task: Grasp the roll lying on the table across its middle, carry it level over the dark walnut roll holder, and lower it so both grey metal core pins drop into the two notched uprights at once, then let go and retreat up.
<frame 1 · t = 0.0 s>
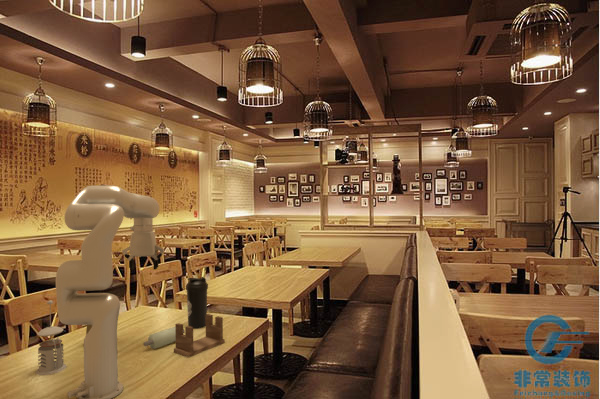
hand: (143, 269, 175), 31 cm above the table, tool pointing down, fingers open, 9 cm apart
roll: (164, 337, 173), point 3 cm above the table
french press: (52, 370, 148), on the table
holder: (199, 347, 169), on the table
water bottle: (197, 326, 197), on the table
squeeze bottle: (96, 343, 174), on the table
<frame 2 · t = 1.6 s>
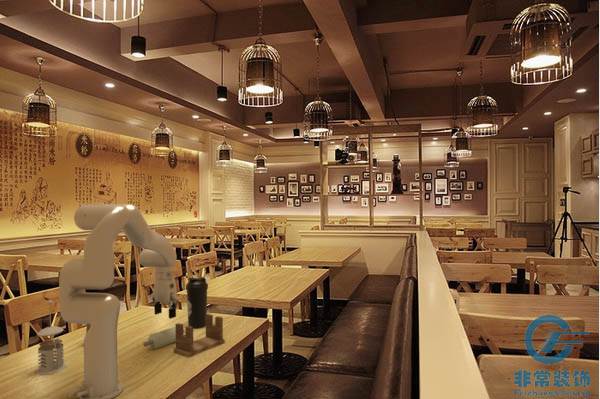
hand: (165, 315, 173), 12 cm above the table, tool pointing down, fingers open, 9 cm apart
nothing on the table moved.
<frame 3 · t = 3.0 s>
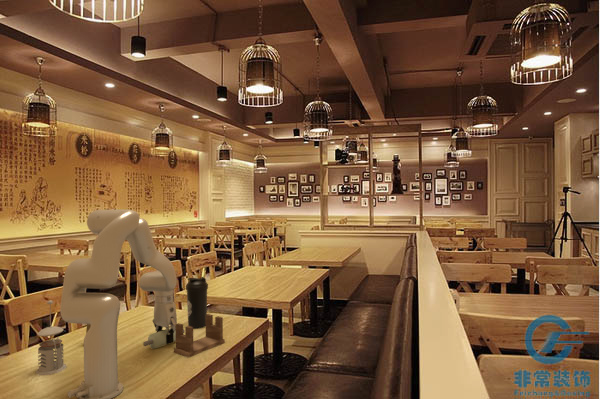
hand: (164, 341, 173), 1 cm above the table, tool pointing down, fingers closed on roll, 6 cm apart
roll: (164, 337, 173), point 3 cm above the table, touching gripper
everything else where it was.
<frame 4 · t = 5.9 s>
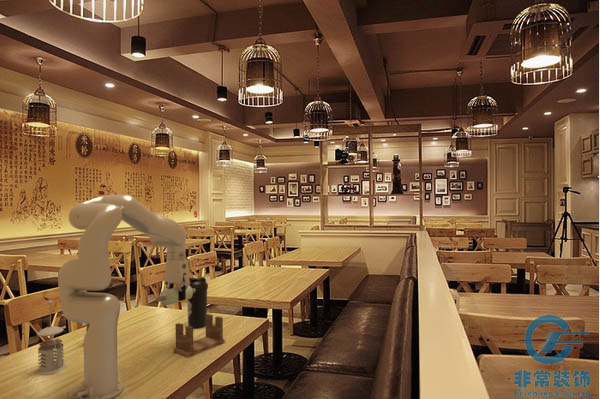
hand: (176, 298, 171), 19 cm above the table, tool pointing down, fingers closed on roll, 6 cm apart
roll: (176, 294, 171), point 21 cm above the table, touching gripper
everything else where it was.
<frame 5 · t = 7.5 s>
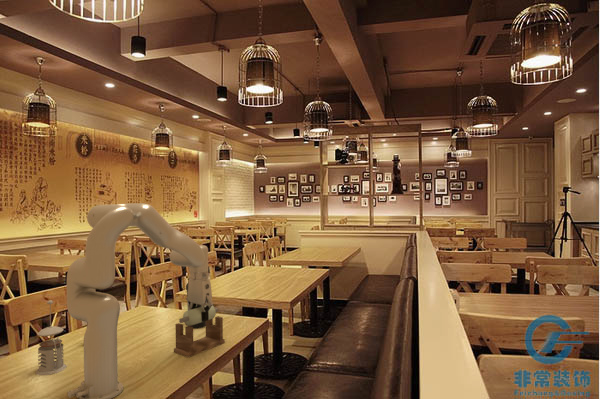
hand: (199, 319, 169), 12 cm above the table, tool pointing down, fingers closed on roll, 6 cm apart
roll: (199, 314, 169), point 13 cm above the table, touching gripper
everything else where it was.
when the fingers open (7 cm above the table, at t = 9.0 s): roll stays where it is, resting on holder.
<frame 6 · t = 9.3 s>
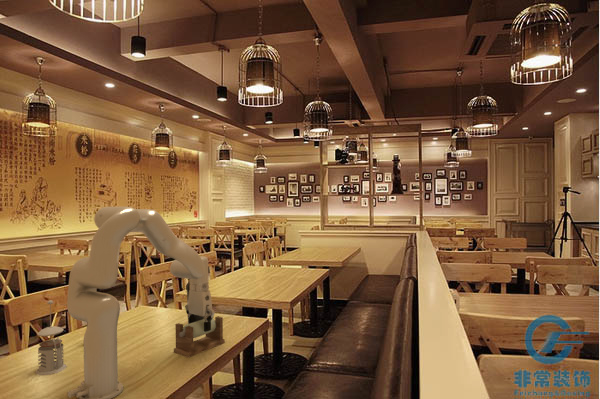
hand: (199, 328, 169), 8 cm above the table, tool pointing down, fingers open, 9 cm apart
roll: (199, 328, 169), point 8 cm above the table, touching holder
everything else where it was.
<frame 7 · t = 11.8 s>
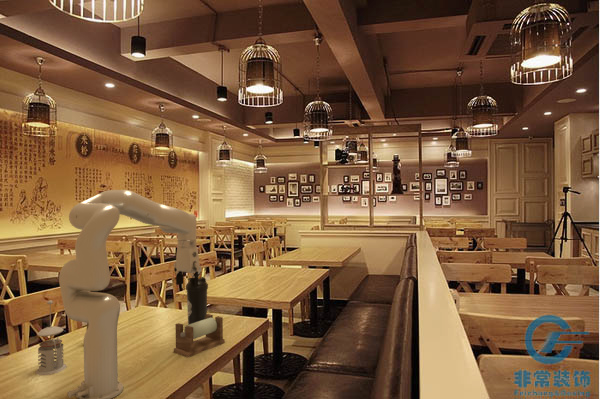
hand: (187, 285, 169), 25 cm above the table, tool pointing down, fingers open, 9 cm apart
roll: (200, 328, 168), point 8 cm above the table, tilted 44°, touching holder
everything else where it was.
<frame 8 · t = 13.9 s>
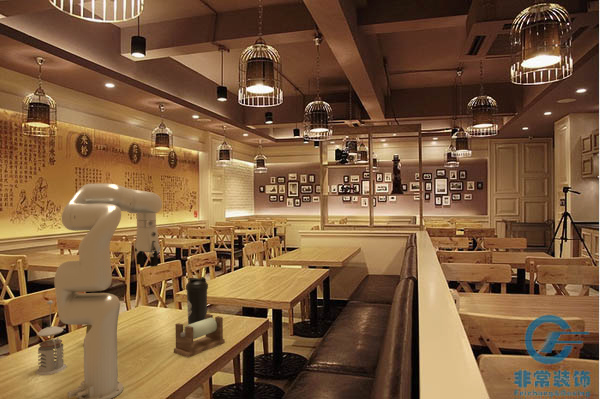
hand: (147, 265, 173), 33 cm above the table, tool pointing down, fingers open, 9 cm apart
nothing on the table moved.
at the end: roll 0.7 cm off-centre on the holder, point 7.9 cm above the holder's base; the gripper is holding nothing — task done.
